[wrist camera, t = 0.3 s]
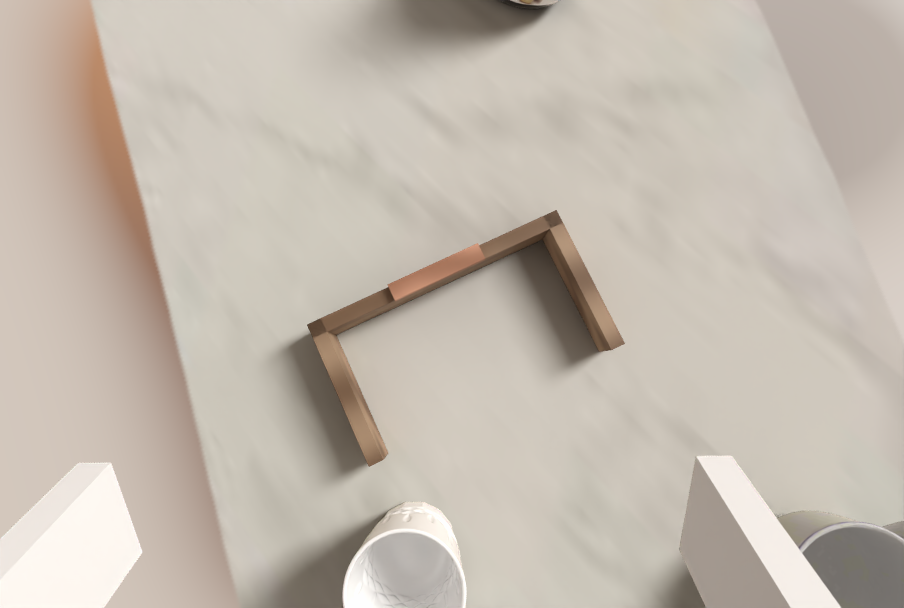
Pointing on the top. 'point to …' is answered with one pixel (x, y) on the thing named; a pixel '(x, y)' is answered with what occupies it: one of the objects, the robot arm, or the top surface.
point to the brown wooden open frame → (437, 276)
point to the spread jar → (530, 3)
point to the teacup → (852, 557)
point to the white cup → (407, 563)
